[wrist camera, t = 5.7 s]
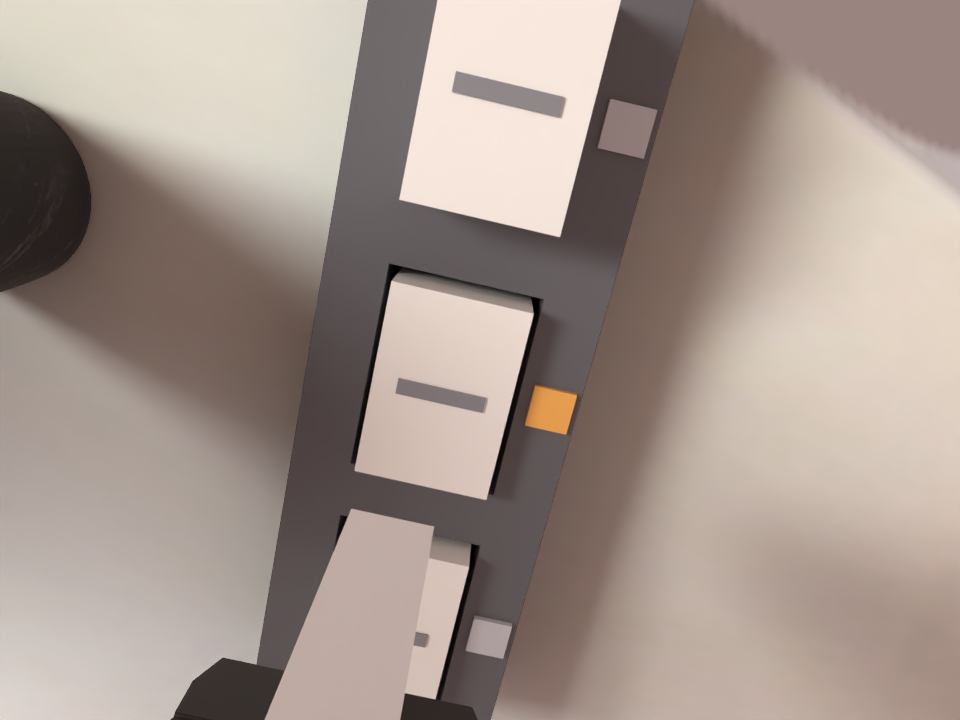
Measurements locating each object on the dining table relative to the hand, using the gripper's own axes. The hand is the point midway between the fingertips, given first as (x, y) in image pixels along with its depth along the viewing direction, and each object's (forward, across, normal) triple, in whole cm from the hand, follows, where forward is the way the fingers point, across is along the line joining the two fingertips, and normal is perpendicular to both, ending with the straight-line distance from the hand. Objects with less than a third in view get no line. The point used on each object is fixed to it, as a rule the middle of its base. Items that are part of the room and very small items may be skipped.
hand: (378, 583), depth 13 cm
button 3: (+13, 0, +9) cm, 16 cm away
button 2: (+15, 0, 0) cm, 15 cm away
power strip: (+16, 0, +3) cm, 17 cm away
